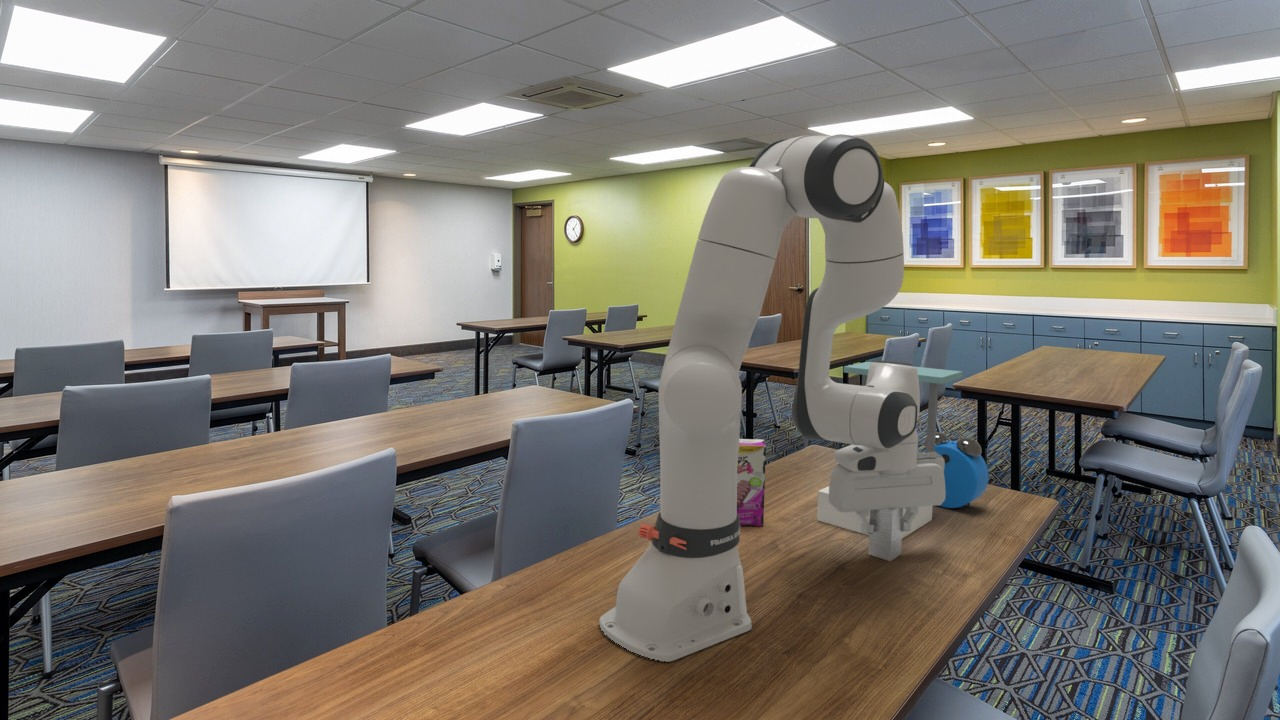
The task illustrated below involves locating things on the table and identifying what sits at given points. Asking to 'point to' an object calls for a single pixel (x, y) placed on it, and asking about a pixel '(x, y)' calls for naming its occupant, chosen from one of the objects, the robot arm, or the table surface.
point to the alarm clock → (961, 470)
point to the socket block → (925, 513)
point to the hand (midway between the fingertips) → (885, 531)
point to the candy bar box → (751, 481)
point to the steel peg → (886, 533)
